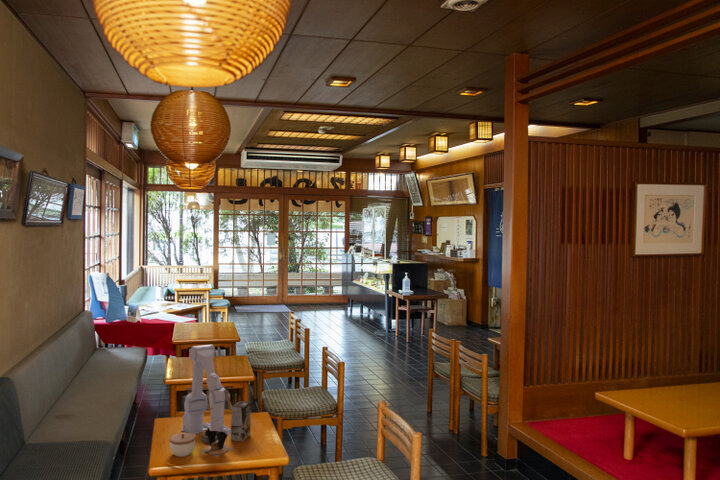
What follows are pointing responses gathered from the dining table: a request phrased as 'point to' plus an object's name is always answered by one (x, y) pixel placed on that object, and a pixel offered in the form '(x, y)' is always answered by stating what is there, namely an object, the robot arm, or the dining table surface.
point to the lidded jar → (182, 444)
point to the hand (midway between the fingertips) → (216, 447)
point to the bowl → (205, 438)
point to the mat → (216, 455)
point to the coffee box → (241, 421)
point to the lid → (215, 449)
